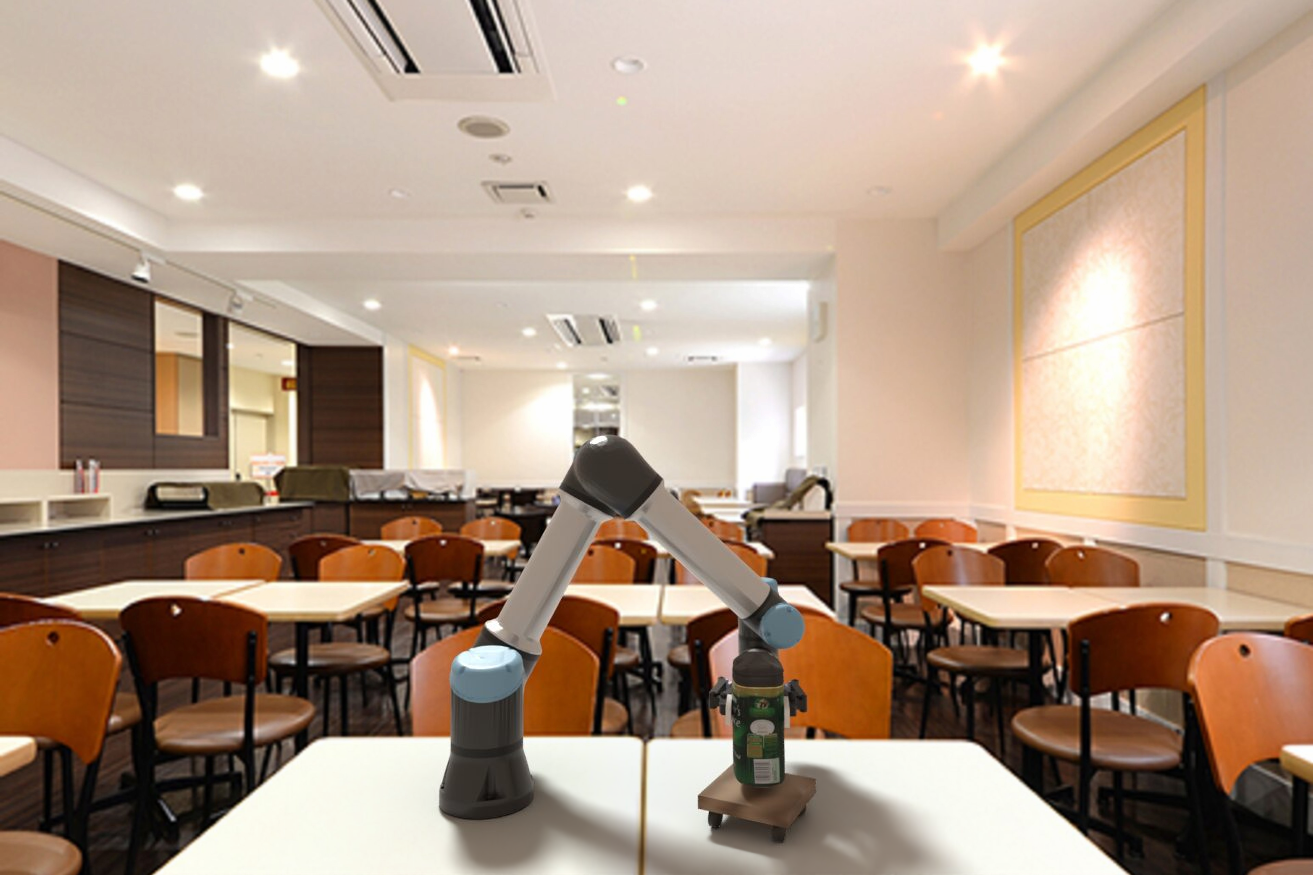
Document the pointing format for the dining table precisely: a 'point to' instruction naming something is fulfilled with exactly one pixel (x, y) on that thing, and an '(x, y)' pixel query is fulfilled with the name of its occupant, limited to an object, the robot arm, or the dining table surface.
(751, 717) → the coffee jar
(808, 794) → the caster dolly
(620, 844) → the dining table surface
